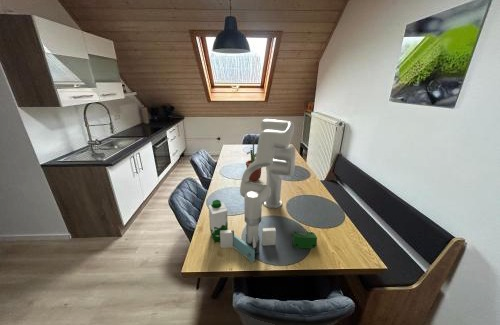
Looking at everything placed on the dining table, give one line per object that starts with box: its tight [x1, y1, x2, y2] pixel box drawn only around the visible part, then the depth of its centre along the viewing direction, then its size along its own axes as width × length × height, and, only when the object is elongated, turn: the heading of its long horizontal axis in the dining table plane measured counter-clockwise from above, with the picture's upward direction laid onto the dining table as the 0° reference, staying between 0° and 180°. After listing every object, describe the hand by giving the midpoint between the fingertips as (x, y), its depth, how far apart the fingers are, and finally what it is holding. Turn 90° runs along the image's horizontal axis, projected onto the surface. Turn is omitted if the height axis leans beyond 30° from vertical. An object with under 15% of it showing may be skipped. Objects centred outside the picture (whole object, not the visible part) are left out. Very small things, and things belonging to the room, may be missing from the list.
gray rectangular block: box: [245, 234, 260, 254], centre depth 101 cm, size 4×6×8 cm
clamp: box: [291, 231, 318, 249], centre depth 107 cm, size 12×6×9 cm, turn 84°
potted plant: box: [245, 137, 262, 183], centre depth 164 cm, size 17×16×35 cm
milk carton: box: [208, 199, 229, 244], centre depth 107 cm, size 9×9×20 cm
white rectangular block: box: [219, 227, 277, 249], centre depth 104 cm, size 2×27×9 cm, turn 95°
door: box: [233, 234, 256, 263], centre depth 98 cm, size 2×13×7 cm, turn 45°
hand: (252, 247), depth 102 cm, fingers closed on gray rectangular block, 4 cm apart
